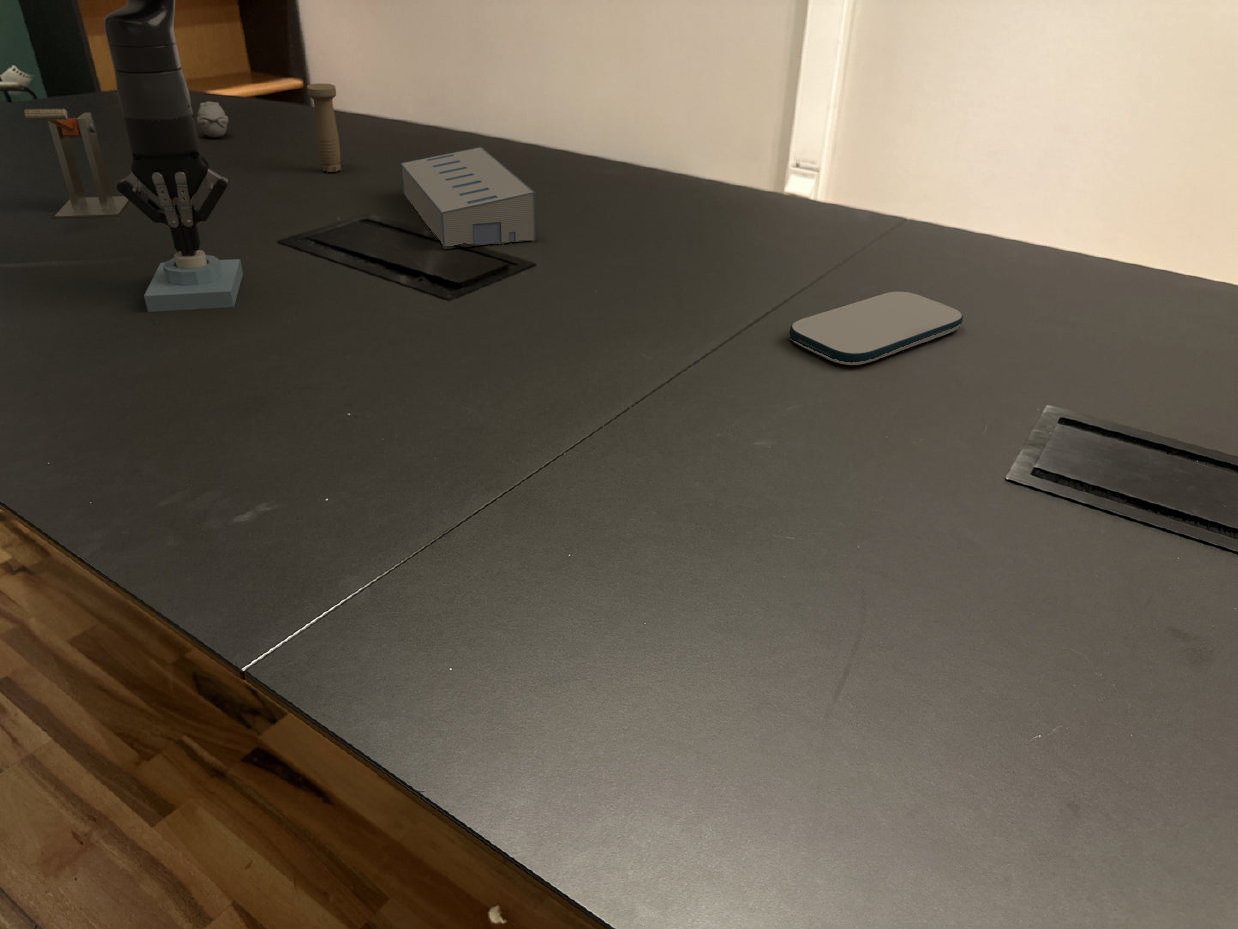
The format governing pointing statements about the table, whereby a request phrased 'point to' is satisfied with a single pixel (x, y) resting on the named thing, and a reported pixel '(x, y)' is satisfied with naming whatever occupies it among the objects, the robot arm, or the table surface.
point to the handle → (326, 125)
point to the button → (190, 260)
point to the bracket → (78, 202)
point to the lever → (56, 120)
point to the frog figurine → (212, 119)
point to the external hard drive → (874, 326)
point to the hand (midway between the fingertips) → (189, 253)
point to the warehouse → (470, 198)
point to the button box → (194, 286)
